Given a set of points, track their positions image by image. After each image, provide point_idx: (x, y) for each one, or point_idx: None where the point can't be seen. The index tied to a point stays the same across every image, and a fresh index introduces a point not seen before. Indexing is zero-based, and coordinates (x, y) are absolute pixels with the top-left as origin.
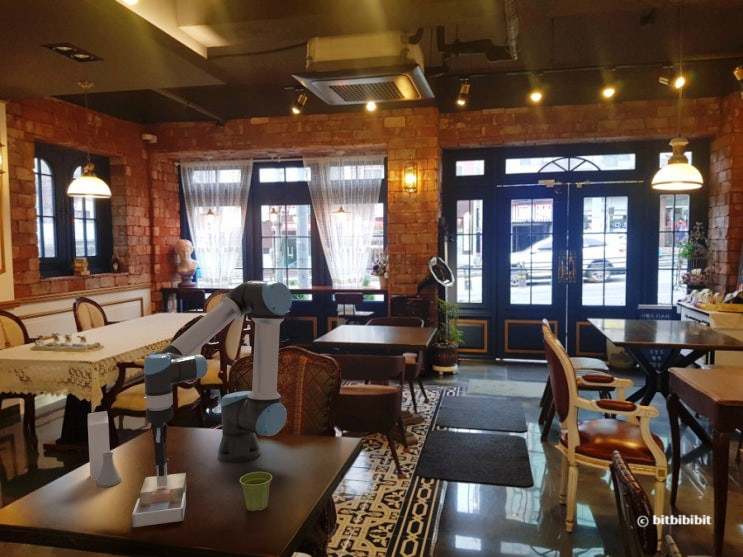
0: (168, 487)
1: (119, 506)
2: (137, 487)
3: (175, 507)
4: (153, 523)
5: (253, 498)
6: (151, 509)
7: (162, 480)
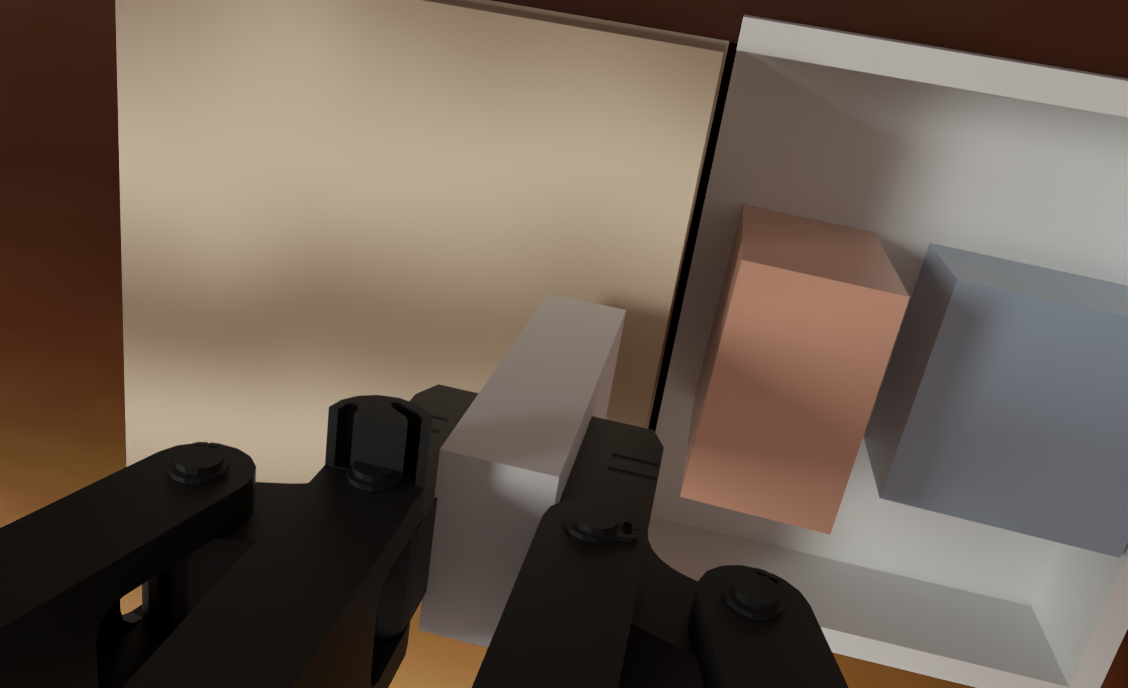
0: (603, 271)
1: (463, 656)
2: (67, 469)
3: (839, 163)
4: None
5: None
6: (1076, 515)
7: (601, 404)
